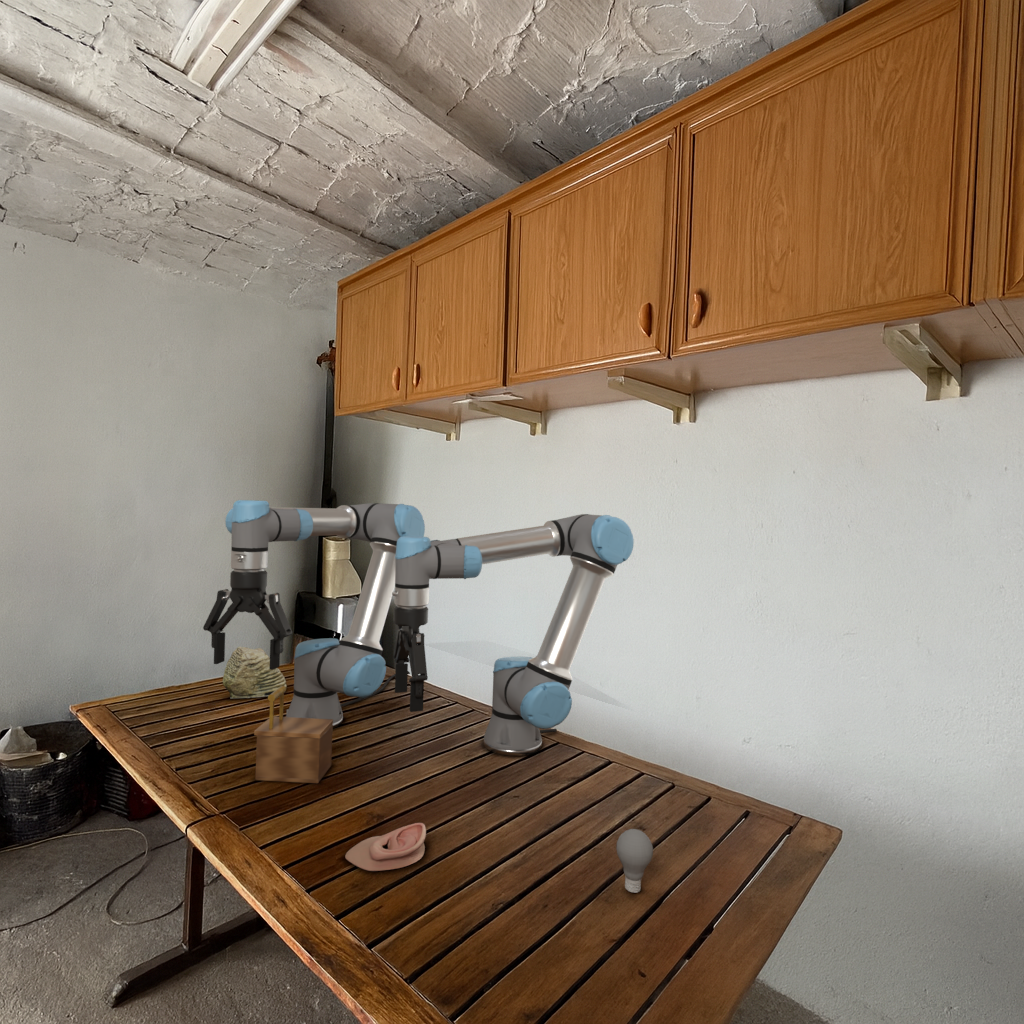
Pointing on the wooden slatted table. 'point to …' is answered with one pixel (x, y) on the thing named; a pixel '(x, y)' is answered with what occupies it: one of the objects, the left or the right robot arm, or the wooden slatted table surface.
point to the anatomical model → (390, 849)
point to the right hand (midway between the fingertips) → (408, 701)
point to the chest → (293, 758)
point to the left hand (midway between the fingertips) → (246, 665)
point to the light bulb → (634, 857)
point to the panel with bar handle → (291, 722)
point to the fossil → (251, 674)
